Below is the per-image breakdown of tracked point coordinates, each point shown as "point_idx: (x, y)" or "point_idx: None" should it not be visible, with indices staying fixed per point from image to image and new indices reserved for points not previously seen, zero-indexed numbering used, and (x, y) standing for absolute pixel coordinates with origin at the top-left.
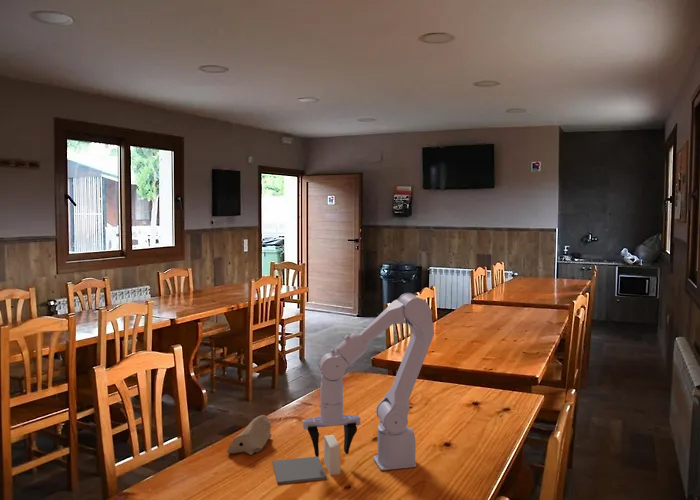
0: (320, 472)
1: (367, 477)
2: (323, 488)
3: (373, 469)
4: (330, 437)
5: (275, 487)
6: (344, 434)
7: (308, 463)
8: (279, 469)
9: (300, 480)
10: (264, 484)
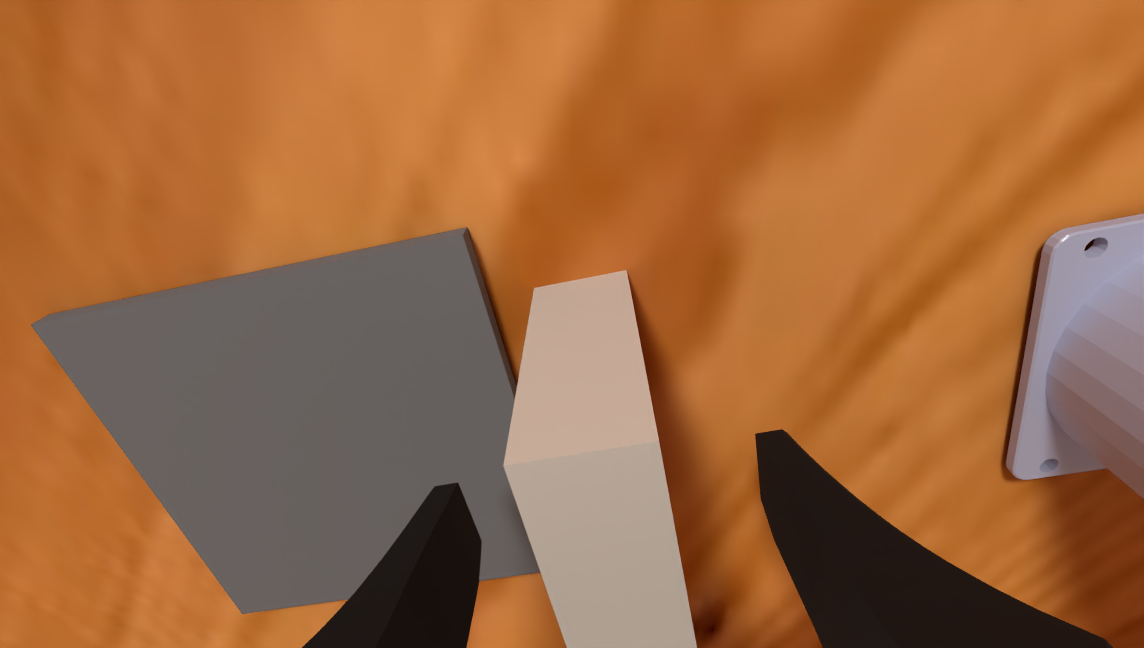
0: (517, 520)
1: None
2: (551, 638)
3: (951, 437)
4: (606, 527)
5: (253, 624)
6: (837, 566)
7: (392, 380)
8: (178, 472)
9: None
10: (167, 596)
